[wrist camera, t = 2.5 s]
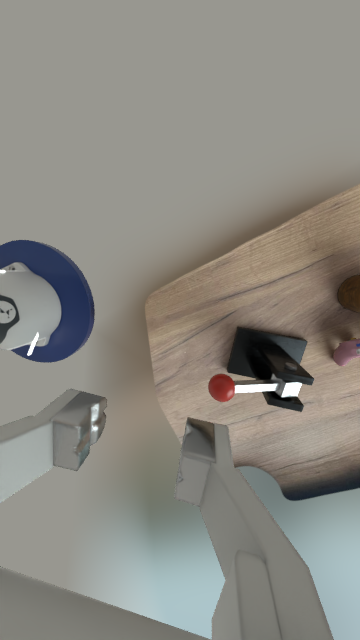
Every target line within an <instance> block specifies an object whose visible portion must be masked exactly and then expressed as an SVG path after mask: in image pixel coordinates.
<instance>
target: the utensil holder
mask: <svg viewBox="0 0 360 640" xmlns="http://www.w3.org/2000/svg"><path fill="white" fill-rule="evenodd" d="M338 299H339V302H340V303H341V305H342V306H344V307H345V308H347V309H349V310H352V311H356V312H360V275H356V276H353V277H351V278H349V279H347V280H346V281H345V282H344V283H343V284H342V285H341V287H340V288H339V291H338Z"/></svg>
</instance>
